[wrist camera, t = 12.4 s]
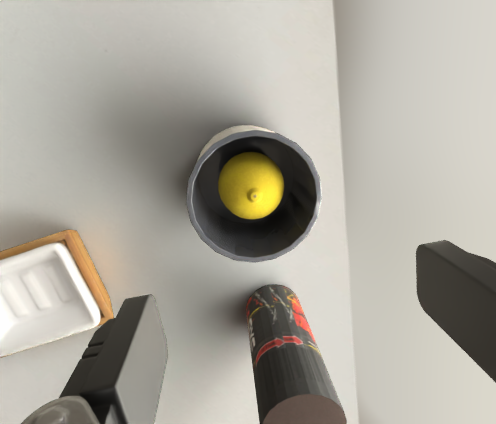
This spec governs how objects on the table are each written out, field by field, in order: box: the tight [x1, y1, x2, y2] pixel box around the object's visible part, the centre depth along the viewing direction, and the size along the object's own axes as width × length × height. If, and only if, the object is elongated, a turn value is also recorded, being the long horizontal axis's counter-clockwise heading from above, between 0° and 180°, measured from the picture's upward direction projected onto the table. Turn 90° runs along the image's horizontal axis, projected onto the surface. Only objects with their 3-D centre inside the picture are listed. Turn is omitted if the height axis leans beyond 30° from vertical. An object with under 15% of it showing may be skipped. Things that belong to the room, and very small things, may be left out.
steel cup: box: [186, 125, 322, 262], centre depth 29 cm, size 10×10×9 cm
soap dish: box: [0, 230, 114, 358], centre depth 33 cm, size 12×10×5 cm
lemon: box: [218, 152, 284, 219], centre depth 29 cm, size 6×6×8 cm
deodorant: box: [246, 285, 346, 424], centre depth 31 cm, size 6×6×15 cm
